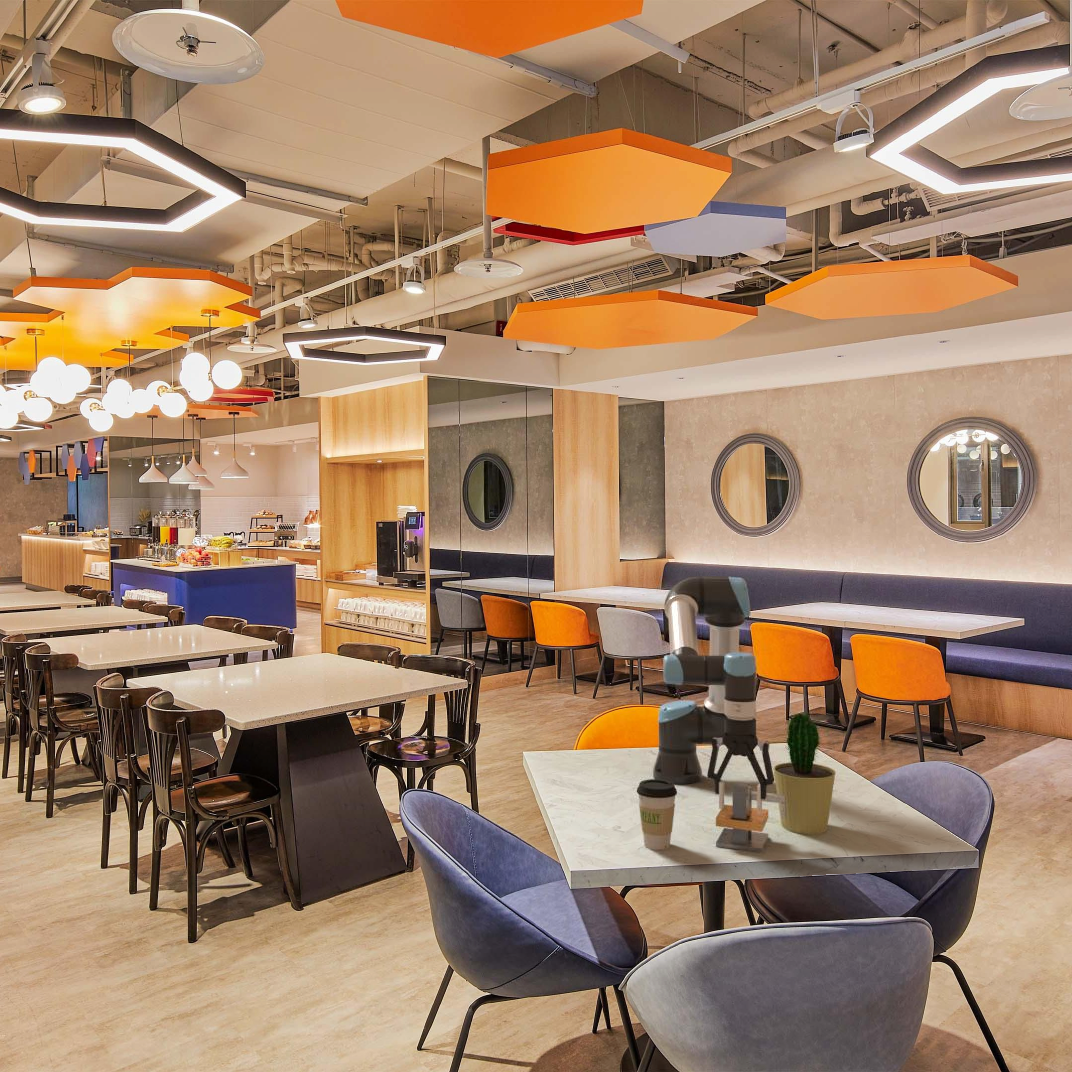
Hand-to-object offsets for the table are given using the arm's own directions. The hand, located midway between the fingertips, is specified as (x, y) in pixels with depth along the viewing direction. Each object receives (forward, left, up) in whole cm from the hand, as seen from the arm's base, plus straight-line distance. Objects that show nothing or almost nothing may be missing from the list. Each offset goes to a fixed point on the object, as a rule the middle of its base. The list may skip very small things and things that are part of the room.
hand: (740, 809), depth 211 cm
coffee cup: (-19, -7, -9) cm, 22 cm away
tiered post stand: (+2, +3, -9) cm, 10 cm away
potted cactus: (+13, +20, -9) cm, 25 cm away
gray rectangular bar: (0, 0, -8) cm, 8 cm away
